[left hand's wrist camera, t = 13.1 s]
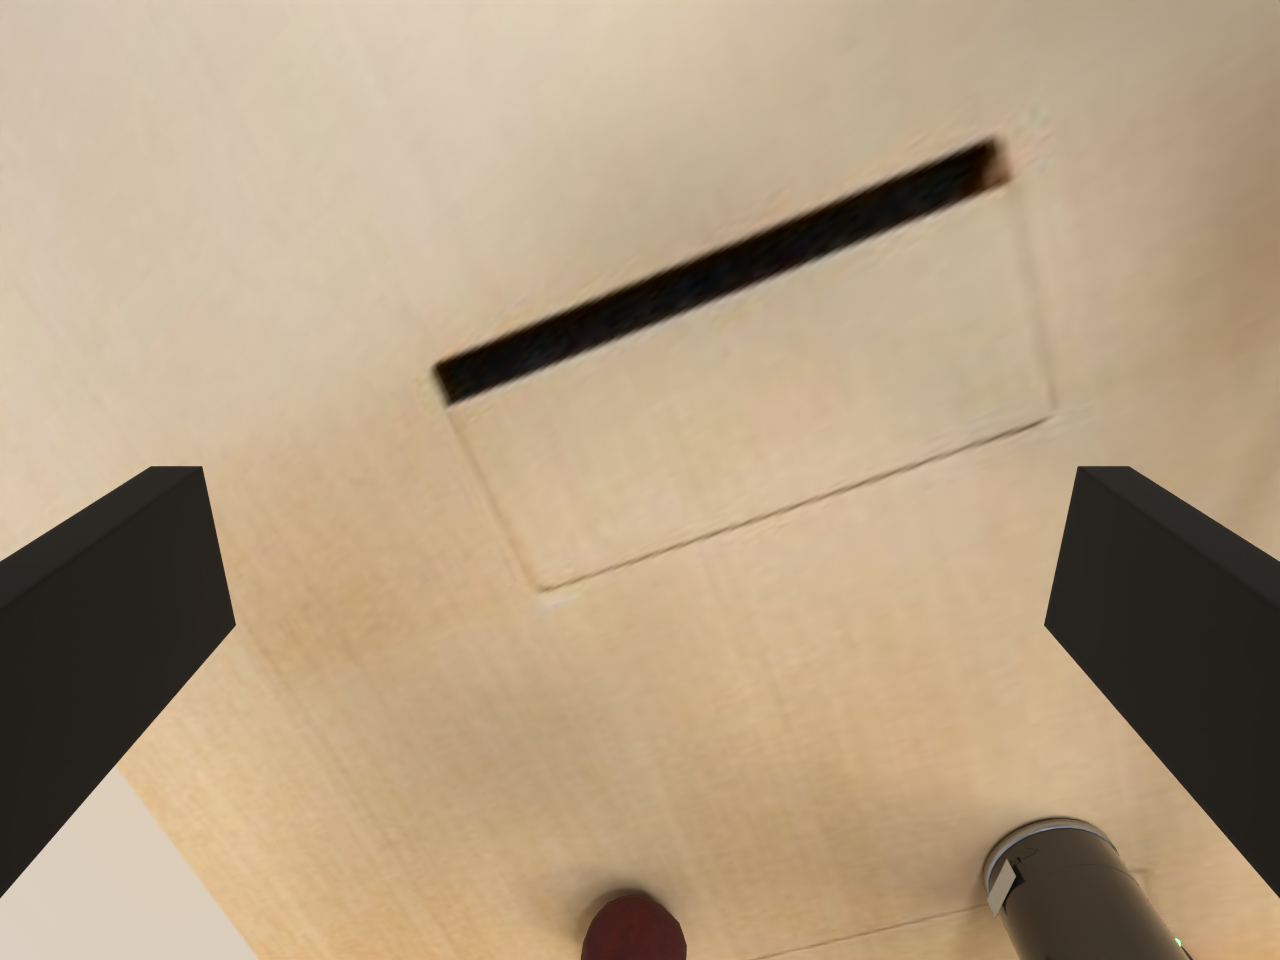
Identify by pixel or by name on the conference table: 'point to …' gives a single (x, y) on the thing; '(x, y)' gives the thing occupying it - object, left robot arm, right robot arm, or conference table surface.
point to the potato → (634, 932)
